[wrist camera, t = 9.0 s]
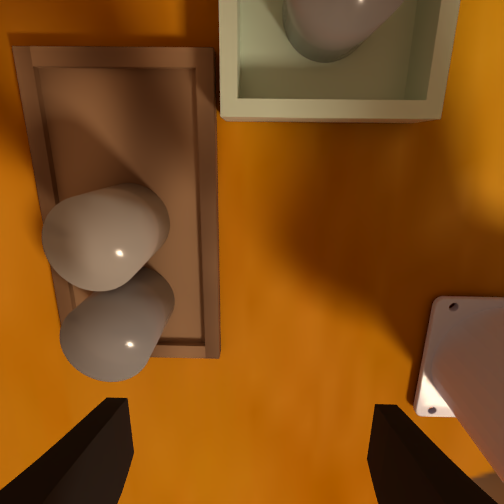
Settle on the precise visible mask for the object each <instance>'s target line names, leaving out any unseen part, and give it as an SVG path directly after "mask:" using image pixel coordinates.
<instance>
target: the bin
mask: <svg viewBox="0 0 504 504" xmlns="http://www.w3.org/2000/svg"><path fill="white" fill-rule="evenodd" d="M282 5H283V0H219V55H220V117H221V118H223V119H224V120H226V121H246V122H338V123H417V122H424V121H431V120H438V119H441V115H442V109H443V103H444V97H445V91H446V85H447V79H448V73H449V66H450V60H451V54H452V48H453V42H454V36H455V30H456V24H457V18H458V12H459V6H460V0H404V1H403V3H402V4H401V5H400V6H399V7H398V9H397V10H396V11H395V12H394V13H393V14H392V15H391V16H390V17H389V18H388V19H387V20H386V21H385V22H384V23H383V24H382V25H381V26H380V27H379V28H378V29H377V30H376V31H375V32H373V33H372V34H371V35H370V36H369V37H368V38H367V39H366V40H365V41H364V42H363V43H362V44H361V45H360V46H359V47H358V48H357V49H356V50H355V51H354V52H353V53H352V54H350V55H349V56H347V57H345V58H343V59H341V60H339V61H335V62H330V63H320V62H315V61H311V60H309V59H307V58H305V57H304V56H302V55H301V54H299V53H298V52H297V51H296V50H295V49H294V47H293V46H292V45H291V43H290V42H289V40H288V38H287V36H286V33H285V30H284V26H283V21H282Z"/></svg>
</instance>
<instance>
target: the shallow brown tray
mask: <svg viewBox="0 0 504 504" xmlns="http://www.w3.org/2000/svg"><path fill="white" fill-rule="evenodd" d="M12 50H13V55H14V61H15V67H16V72H17V78H18V84H19V89H20V95H21V101H22V106H23V112H24V118H25V123H26V129H27V135H28V140H29V146H30V152H31V157H32V163H33V169H34V174H35V180H36V186H37V191H38V197H39V203H40V208H41V214H42V220H43V224H44V221H45V219H46V217H47V215H48V214H49V212H50V211H51V210H52V209H53V208H54V206H56V205H57V204H58V203H60V202H61V201H63V200H65V199H67V198H70V197H73V196H77V195H81V194H84V193H88V192H91V191H95V190H99V189H102V188H106V187H109V186H113V185H117V184H121V183H135V184H139V185H142V186H145V187H147V188H149V189H150V190H152V191H153V192H154V193H155V194H157V195H158V196H159V198H160V199H161V200H162V201H163V203H164V204H165V206H166V208H167V211H168V214H169V218H170V230H169V234H168V237H167V239H166V241H165V243H164V244H163V245H162V247H161V248H160V249H159V250H158V251H157V252H156V253H155V254H154V255H153V256H152V257H151V258H150V259H149V260H148V261H147V262H146V263H145V264H144V265H143V267H146V268H149V269H152V270H154V271H156V272H157V273H159V274H160V275H161V276H163V277H164V278H165V279H166V280H167V282H168V283H169V284H170V286H171V288H172V290H173V293H174V298H175V306H174V310H173V313H172V315H171V317H170V319H169V321H168V323H167V325H166V327H165V329H164V331H163V333H162V335H161V336H160V338H159V340H158V342H157V344H156V346H155V348H154V350H153V352H152V354H151V356H150V357H170V358H215V359H219V357H220V352H221V336H220V282H219V228H218V174H217V120H216V66H215V51H214V48H213V47H89V46H12ZM50 265H51V264H50ZM51 271H52V276H53V282H54V288H55V293H56V299H57V305H58V310H59V316H60V322H61V326H62V323H63V321H64V319H65V318H66V317H67V315H68V314H69V313H70V312H71V311H73V310H74V309H75V308H76V307H77V306H78V305H79V304H80V303H82V302H83V301H84V300H85V299H86V298H87V297H88V296H89V295H91V294H92V293H93V292H94V291H90V290H85V289H82V288H79V287H77V286H75V285H73V284H71V283H69V282H68V281H66V280H65V279H64V278H62V277H61V276H60V275H59V274H58V273H57V272H56V271H55V270H54V268H53V267H52V266H51Z"/></svg>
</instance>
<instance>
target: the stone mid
mask: <svg viewBox="0 0 504 504" xmlns="http://www.w3.org/2000/svg"><path fill="white" fill-rule="evenodd" d="M169 230H170V218H169V214H168V211H167V208H166V206H165V204H164V203H163V201H162V200H161V199H160V198H159V196H158V195H157V194H155V193H154V192H153V191H152V190H150V189H149V188H147V187H145V186H142V185H139V184H135V183H121V184H117V185H113V186H109V187H106V188H102V189H99V190H95V191H91V192H88V193H84V194H81V195H77V196H73V197H70V198H67V199H65V200H63V201H61V202H60V203H58V204H57V205H56V206H54V208H53V209H52V210H51V211H50V212H49V214H48V215H47V217H46V219H45V221H44V224H43V229H42V244H43V249H44V252H45V255H46V257H47V259H48V261H49V263H50V264H51V266H52V267H53V268H54V270H55V271H56V272H57V273H58V274H59V275H60V276H61V277H62V278H64V279H65V280H66V281H68V282H69V283H71V284H73V285H75V286H77V287H79V288H82V289H85V290H90V291H108V290H112V289H116V288H118V287H120V286H122V285H124V284H125V283H126V282H128V281H129V280H130V279H131V278H132V277H133V276H134V275H135V274H136V273H137V272H138V271H139V270H140V269H141V268H142V267H143V265H144V264H145V263H146V262H147V261H148V260H149V259H150V258H151V257H152V256H153V255H154V254H155V253H156V252H157V251H158V250H159V249H160V248H161V247H162V245H163V244H164V243H165V241H166V239H167V237H168V234H169Z"/></svg>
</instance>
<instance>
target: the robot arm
mask: <svg viewBox="0 0 504 504" xmlns="http://www.w3.org/2000/svg"><path fill="white" fill-rule="evenodd" d="M452 303H455V305H454V306H453V307H452V308H449V306H450V305H451V304H452ZM430 407H433V408H431V409H429V408H430ZM413 408H414V410H415V412H416V414H417V415H419V416H432V417H456V418H457V419H458V420H459V422H460V423H461V425H462V426H463V427H464V429H465V430H466V432H467V433H468V434H469V436H470V437H471V438H472V440H473V441H474V443H475V444H476V445H477V447H478V448H479V450H480V451H481V452H482V454H483V455H484V456H485V458H486V459H487V461H488V462H489V463H490V465H491V466H492V468H493V469H494V470H495V472H496V473H497V474H498V476H499V477H500V479H501V480H502V481H503V483H504V297H467V296H440V297H438V298H436V299H435V300H434V302H433V304H432V309H431V315H430V320H429V325H428V331H427V336H426V341H425V347H424V352H423V357H422V362H421V368H420V373H419V378H418V384H417V389H416V394H415V400H414V405H413ZM133 454H134V449H133V441H132V432H131V424H130V415H129V407H128V399H127V398H106V399H105V400H104V401H102V402H101V403H100V404H99V405H98V406H97V407H96V408H95V409H94V410H92V411H91V412H90V413H89V414H88V415H87V416H86V417H85V418H84V419H83V420H81V421H80V422H79V423H78V424H77V425H76V426H75V427H74V428H73V429H72V430H70V431H69V432H68V433H67V434H66V435H65V436H64V437H63V438H62V439H60V440H59V441H58V442H57V443H56V444H55V445H54V446H52V447H51V448H50V449H49V450H48V451H47V452H46V453H44V454H43V455H42V456H41V457H40V458H39V459H38V460H36V461H35V462H34V463H33V464H32V465H30V466H29V467H28V468H27V469H26V470H24V471H23V472H22V473H21V474H19V475H18V476H17V477H16V478H15V479H13V480H12V481H11V482H10V483H9V484H7V485H6V486H5V487H4V488H2V489H1V490H0V504H117V503H118V500H119V498H120V496H121V493H122V490H123V487H124V484H125V481H126V478H127V475H128V471H129V468H130V465H131V461H132V458H133ZM367 461H368V465H369V469H370V474H371V478H372V482H373V486H374V490H375V493H376V497H377V501H378V503H379V504H498V503H497V502H495V501H494V500H493V499H492V498H491V497H490V496H489V495H488V494H487V493H485V492H484V491H483V490H482V489H481V488H480V487H479V486H478V485H477V484H476V483H474V482H473V481H472V480H471V479H470V478H469V477H468V476H467V475H466V474H465V473H464V472H463V471H462V470H461V469H460V468H459V467H458V466H457V465H456V464H454V463H453V462H452V461H451V460H450V459H449V458H448V457H447V456H446V455H445V454H444V453H443V452H442V451H441V450H440V449H439V448H438V447H437V446H436V445H435V444H434V443H433V442H432V441H431V440H430V439H429V438H428V437H427V436H426V435H425V434H424V432H423V431H422V430H421V429H420V428H419V427H418V426H417V425H416V424H415V423H414V422H413V421H412V420H411V419H410V418H409V417H408V416H407V415H406V414H405V413H404V412H403V411H402V410H401V409H400V408H399V407H398V406H397V405H387V404H375V408H374V415H373V422H372V429H371V435H370V442H369V449H368V456H367Z"/></svg>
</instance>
